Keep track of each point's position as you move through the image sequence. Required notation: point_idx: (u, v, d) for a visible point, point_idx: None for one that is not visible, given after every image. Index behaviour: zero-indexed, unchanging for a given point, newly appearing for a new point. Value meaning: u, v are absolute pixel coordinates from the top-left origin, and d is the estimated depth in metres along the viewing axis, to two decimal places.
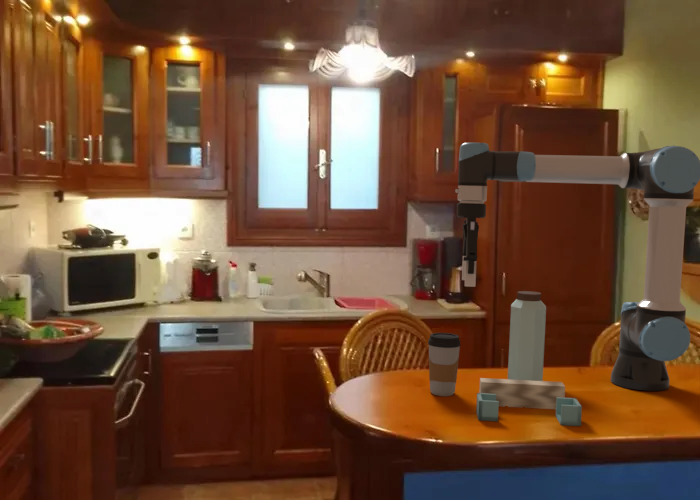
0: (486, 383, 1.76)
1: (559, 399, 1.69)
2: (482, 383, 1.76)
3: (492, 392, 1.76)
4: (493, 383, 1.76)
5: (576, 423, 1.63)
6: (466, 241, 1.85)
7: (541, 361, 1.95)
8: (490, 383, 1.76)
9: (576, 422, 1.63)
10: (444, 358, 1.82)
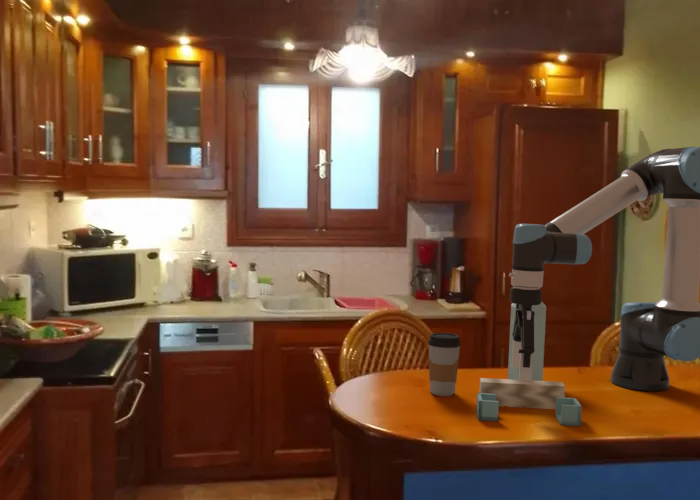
0: (486, 383, 1.76)
1: (559, 399, 1.69)
2: (482, 383, 1.76)
3: (492, 392, 1.76)
4: (493, 383, 1.76)
5: (576, 423, 1.63)
6: (521, 331, 1.72)
7: (541, 361, 1.95)
8: (490, 383, 1.76)
9: (576, 422, 1.63)
10: (444, 358, 1.82)
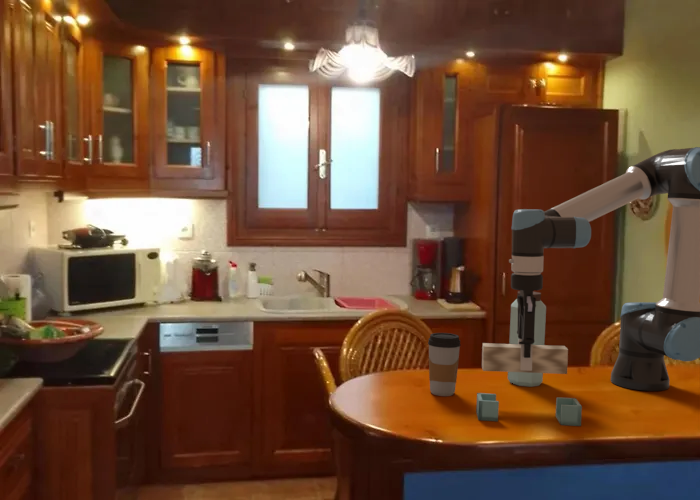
0: (489, 347, 1.76)
1: (559, 399, 1.69)
2: (485, 347, 1.76)
3: (495, 356, 1.76)
4: (496, 347, 1.76)
5: (576, 423, 1.63)
6: (522, 319, 1.74)
7: None
8: (493, 347, 1.76)
9: (576, 422, 1.63)
10: (444, 358, 1.82)
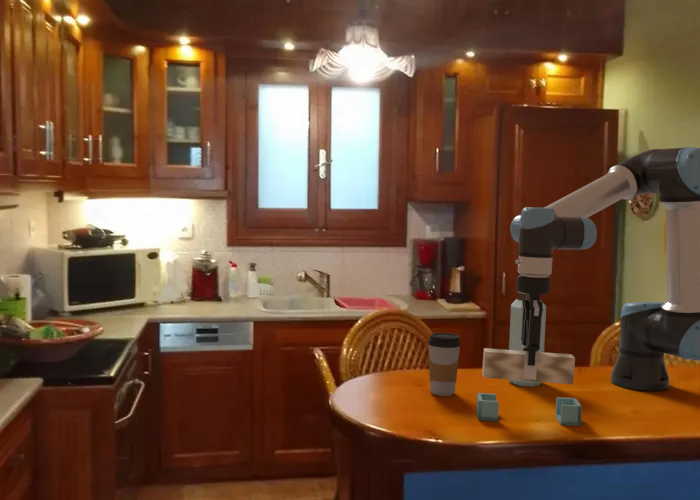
0: (490, 353, 1.65)
1: (559, 399, 1.69)
2: (486, 353, 1.65)
3: (497, 363, 1.65)
4: (498, 353, 1.64)
5: (576, 423, 1.63)
6: (527, 325, 1.63)
7: None
8: (495, 353, 1.65)
9: (576, 422, 1.63)
10: (444, 358, 1.82)
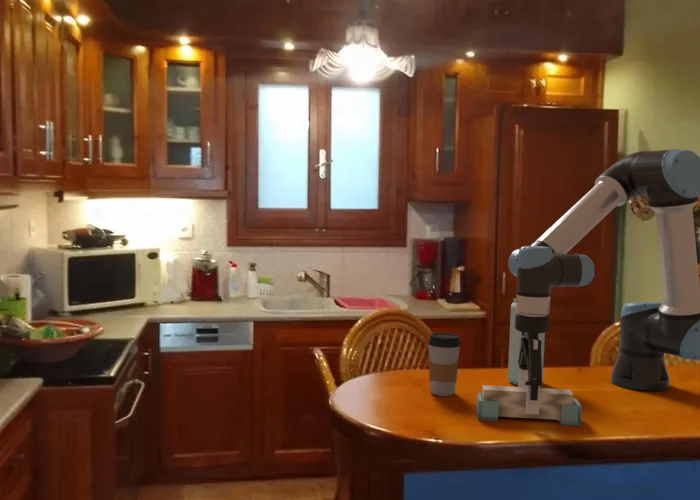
0: (489, 391, 1.65)
1: None
2: (485, 391, 1.65)
3: (495, 400, 1.65)
4: (496, 391, 1.65)
5: (576, 423, 1.63)
6: (527, 361, 1.62)
7: (541, 361, 1.95)
8: (493, 391, 1.65)
9: (576, 422, 1.63)
10: (444, 358, 1.82)
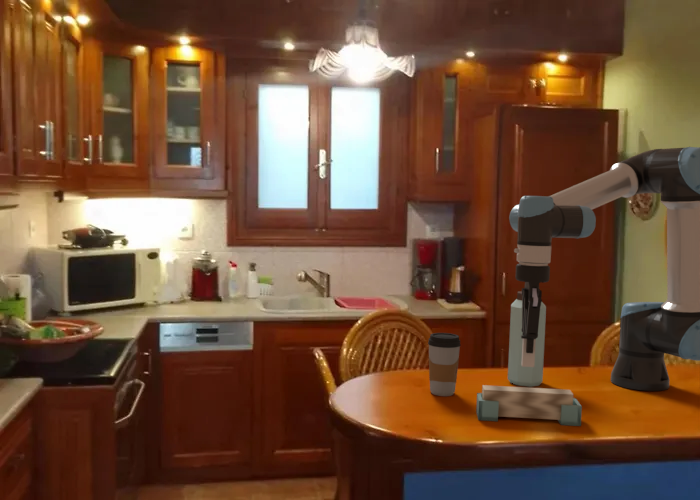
0: (489, 391, 1.65)
1: None
2: (485, 391, 1.65)
3: (495, 400, 1.65)
4: (496, 391, 1.65)
5: (576, 423, 1.63)
6: (526, 313, 1.64)
7: (541, 361, 1.95)
8: (493, 391, 1.65)
9: (576, 422, 1.63)
10: (444, 358, 1.82)
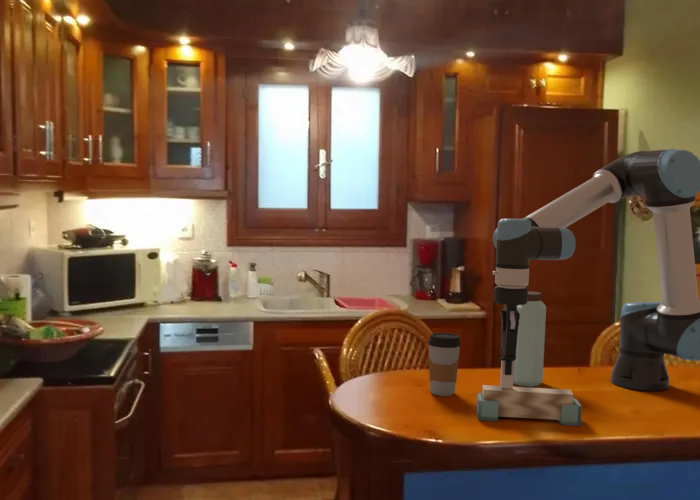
0: (489, 391, 1.65)
1: None
2: (485, 391, 1.65)
3: (495, 400, 1.65)
4: (496, 391, 1.65)
5: (576, 423, 1.63)
6: (504, 335, 1.65)
7: (541, 361, 1.95)
8: (493, 391, 1.65)
9: (576, 422, 1.63)
10: (444, 358, 1.82)
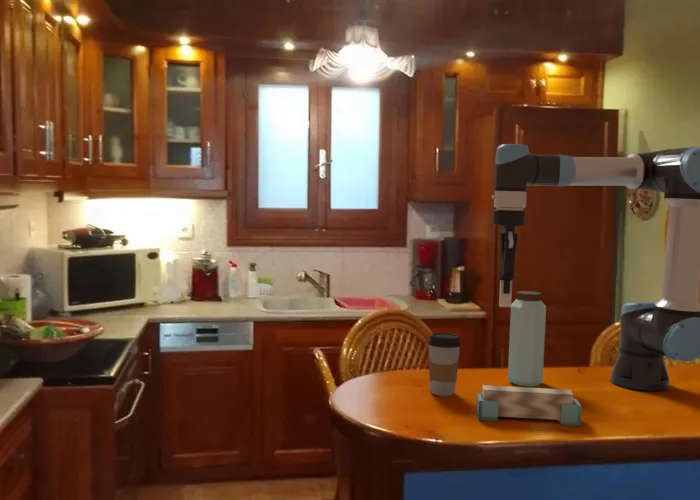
0: (489, 391, 1.65)
1: None
2: (485, 391, 1.65)
3: (495, 400, 1.65)
4: (496, 391, 1.65)
5: (576, 423, 1.63)
6: (503, 256, 1.73)
7: (541, 361, 1.95)
8: (493, 391, 1.65)
9: (576, 422, 1.63)
10: (444, 358, 1.82)
